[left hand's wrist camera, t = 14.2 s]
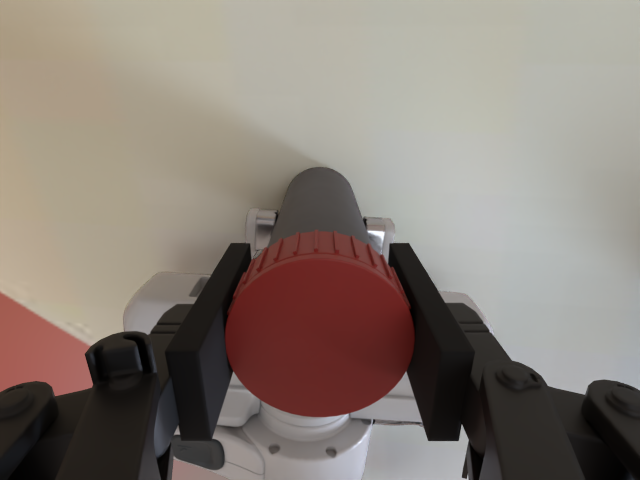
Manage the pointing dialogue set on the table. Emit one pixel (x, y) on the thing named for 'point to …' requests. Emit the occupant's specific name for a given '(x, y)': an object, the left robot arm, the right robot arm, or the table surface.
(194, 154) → the table surface
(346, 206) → the jar
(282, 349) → the lid
